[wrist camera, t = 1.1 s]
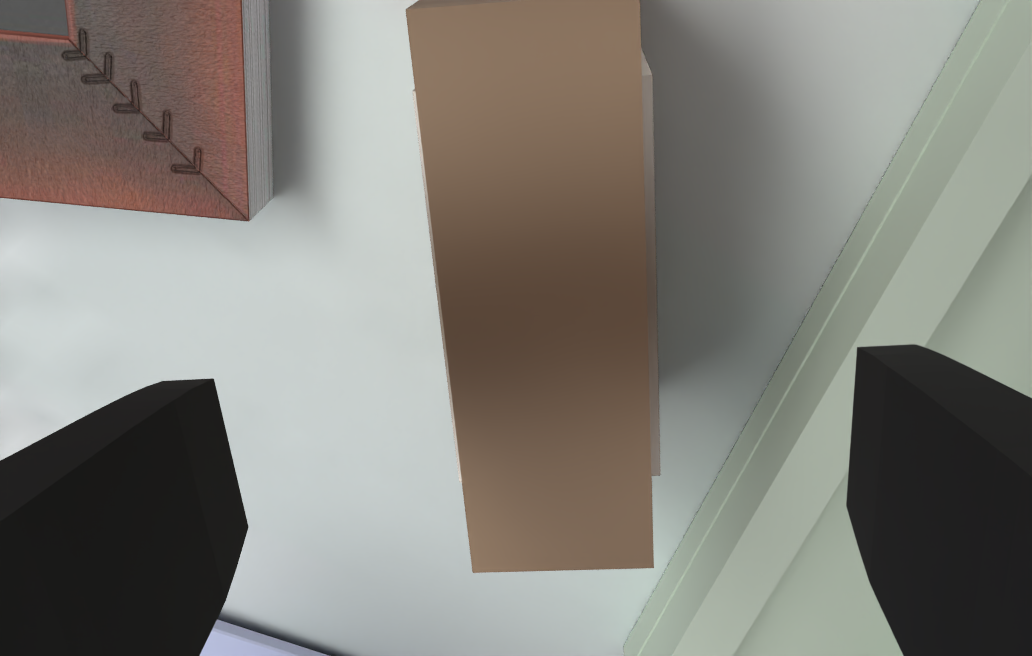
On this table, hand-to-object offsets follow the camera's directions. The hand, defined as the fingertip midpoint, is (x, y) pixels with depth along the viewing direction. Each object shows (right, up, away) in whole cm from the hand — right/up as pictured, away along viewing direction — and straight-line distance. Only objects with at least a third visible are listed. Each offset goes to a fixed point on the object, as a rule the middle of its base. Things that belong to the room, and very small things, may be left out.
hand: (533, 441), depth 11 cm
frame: (+1, +4, +9) cm, 10 cm away
